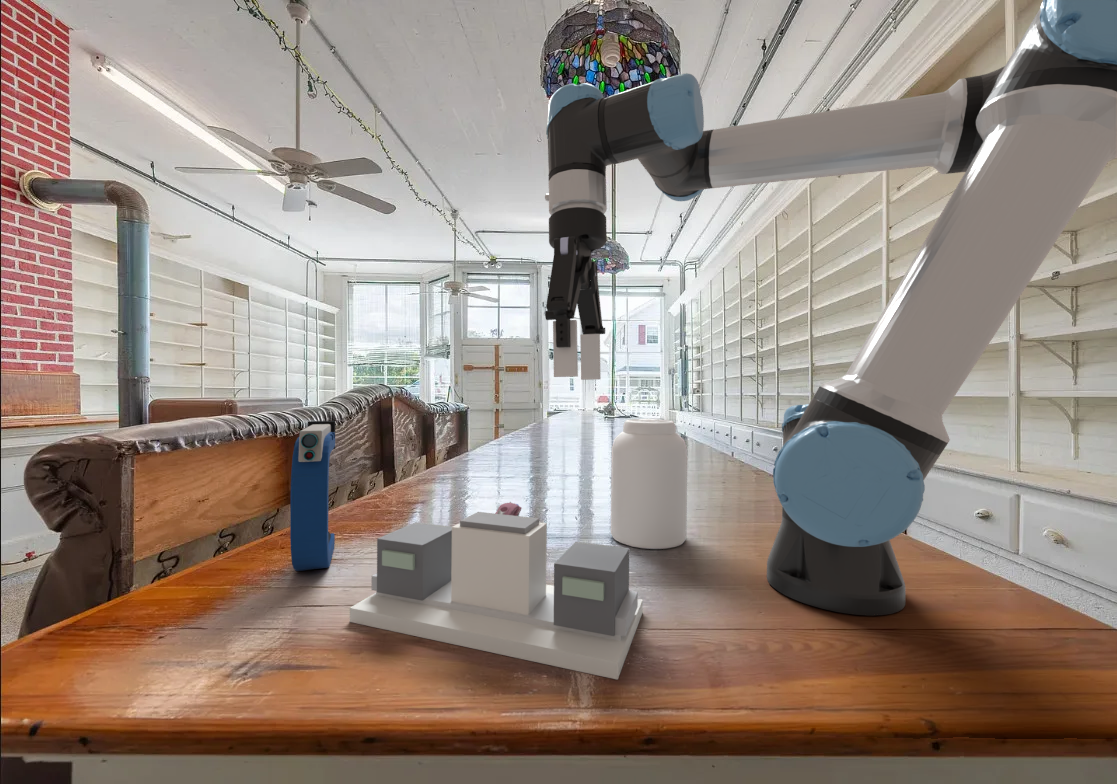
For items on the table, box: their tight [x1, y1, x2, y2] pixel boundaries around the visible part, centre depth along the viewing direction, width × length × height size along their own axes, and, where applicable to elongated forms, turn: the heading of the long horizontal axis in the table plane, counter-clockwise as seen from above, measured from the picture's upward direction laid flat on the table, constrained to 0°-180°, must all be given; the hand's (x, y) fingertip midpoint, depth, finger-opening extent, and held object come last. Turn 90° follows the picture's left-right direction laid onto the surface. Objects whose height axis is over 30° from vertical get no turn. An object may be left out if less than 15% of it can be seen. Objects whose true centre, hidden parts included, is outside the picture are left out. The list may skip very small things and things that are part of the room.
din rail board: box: [349, 521, 644, 680], centre depth 52 cm, size 29×13×8 cm, turn 71°
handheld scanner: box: [289, 420, 336, 572], centre depth 68 cm, size 5×16×20 cm, turn 21°
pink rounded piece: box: [494, 501, 522, 516], centre depth 80 cm, size 10×5×7 cm, turn 169°
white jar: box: [610, 418, 688, 550], centre depth 80 cm, size 12×12×20 cm
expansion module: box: [451, 511, 548, 615], centre depth 52 cm, size 5×9×9 cm, turn 71°
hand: (579, 378), depth 62 cm, fingers open, 13 cm apart
